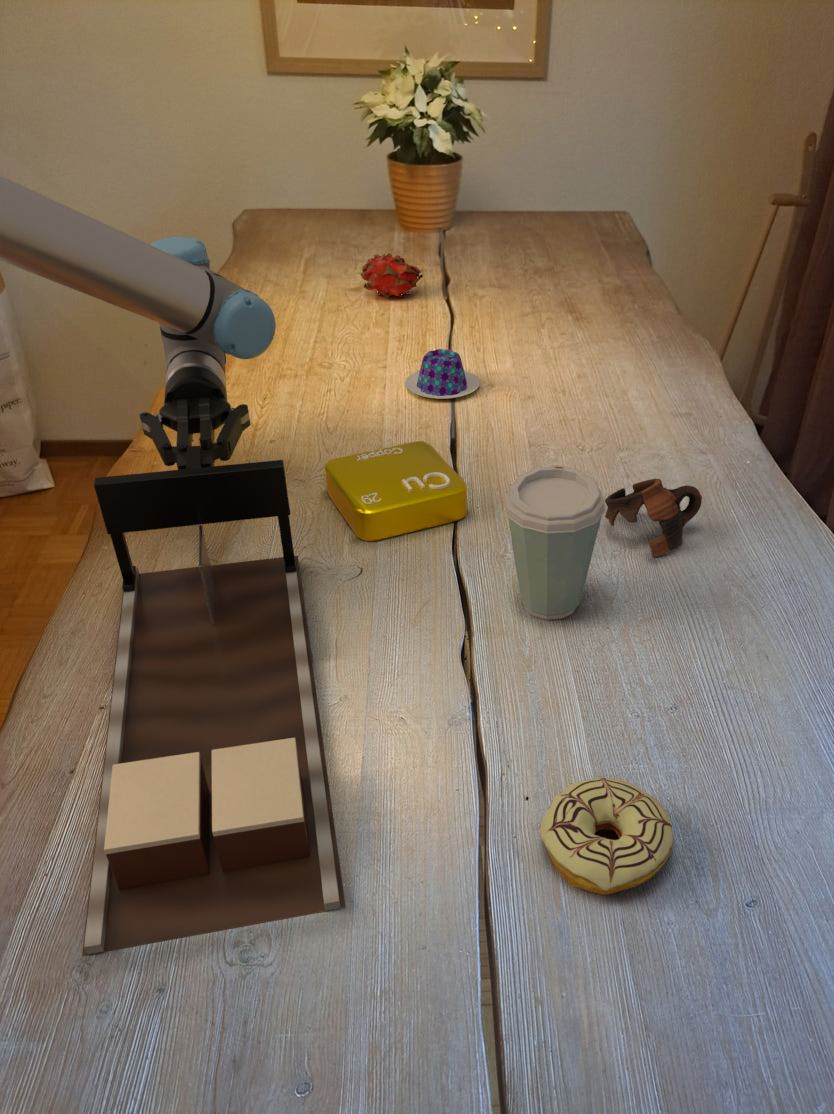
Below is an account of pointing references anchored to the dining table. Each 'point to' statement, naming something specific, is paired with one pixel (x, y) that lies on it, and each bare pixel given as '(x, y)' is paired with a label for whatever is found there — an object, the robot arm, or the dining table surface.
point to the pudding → (442, 376)
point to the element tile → (395, 490)
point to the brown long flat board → (214, 742)
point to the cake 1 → (158, 820)
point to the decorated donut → (599, 858)
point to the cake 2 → (258, 804)
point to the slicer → (193, 507)
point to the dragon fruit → (390, 275)
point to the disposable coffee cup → (553, 536)
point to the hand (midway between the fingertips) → (195, 485)
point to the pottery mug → (656, 510)
